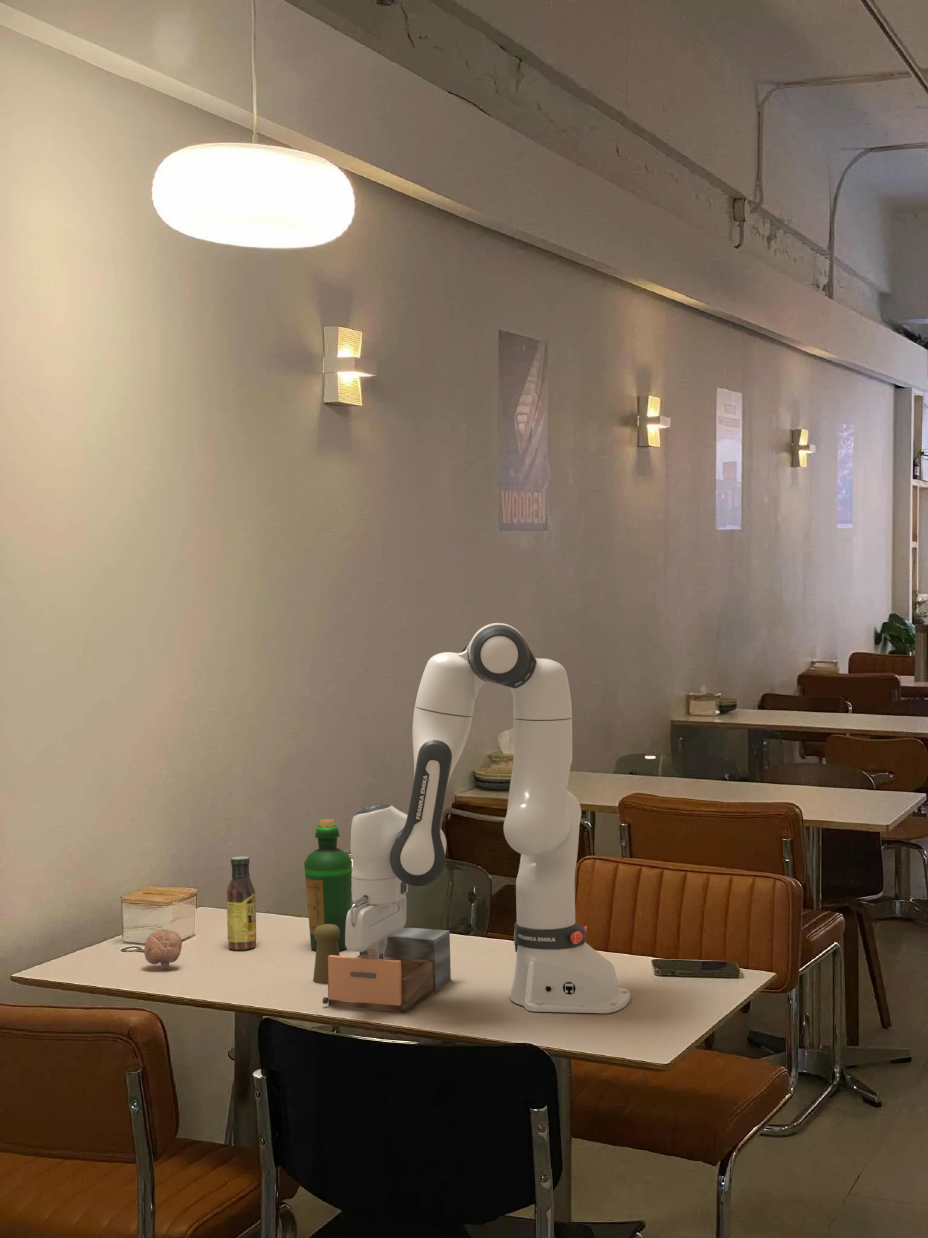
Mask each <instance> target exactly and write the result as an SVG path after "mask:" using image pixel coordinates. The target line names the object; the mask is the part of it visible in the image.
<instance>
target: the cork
mask: <svg viewBox="0 0 928 1238" xmlns="http://www.w3.org/2000/svg"><path fill="white" fill-rule="evenodd" d="M314 937H315V940H316V941H317V948H316V950H315V958H314V969H313V981H312V982H314V983H316V984H321V985H328V956H330V955H335V956H341V955H340V951H339V947H338V939H339V938H340V929H339V928H338V926H336V925H333V924H323V925H319V926H317V927H316V929H315V931H314Z"/></svg>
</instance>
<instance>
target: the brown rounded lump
mask: <svg viewBox="0 0 928 1238" xmlns="http://www.w3.org/2000/svg"><path fill="white" fill-rule="evenodd" d="M182 946H183V942H182V938H181V936H180V934H179V933H178V932H176V931H174V930H171V929H170V930H169V929H165V928H159V929H156V930H154V931H152V932H151V933H149V936H147V938H146V942H145V944H144V947H143V948H144V949H143V953H144V958H145V961H147V962H148V963H149V964H151V965H159V964H160V965H161V967H162V968H163V969H165V970H168V969H169V968H170V964H171V963H174V962H176V961H177V960H178V959H179V957H180V955H181V951H182V948H183V947H182Z"/></svg>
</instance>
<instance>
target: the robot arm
mask: <svg viewBox="0 0 928 1238" xmlns="http://www.w3.org/2000/svg"><path fill="white" fill-rule="evenodd" d="M425 665H426V666H425V668H424V671H423V673H422V677H421V679H420V682H419V686H418V690H417V693H416V699H415V704H414V709H413V717H412V731H411V733H412V735H411V736H412V753H413V767H414V768H413V781H412V787H411V788H412V789H411V794H410V799H409V805H408V811H407V813H405V812H403V811H402V810H401V811H400V810H399V809H398V808H396V807H394V806H393V805H392V804H389V803H377V804H372V805H368V806H366V807H363V808H361V809H359V810H358V811H357V812H356V813H355V815H353V817H352V821H351V828H350V856H351V860H352V874H351V902H352V905H351V909H350V910H349V911H348V913H347V917H346V930H345V945H346V949H347V951H348V952H357V953H358V952H359V953H360V952H363V951H365V950H367V952H368V955H369V958H374V959H384V953H385V949H386V945H387V938H388V937H389V936H391V935H393V934H395V933H396V932H398V931H400V930H401V929H403V928H404V927H406V921H407V908H408V907H407V896H406V894H407V893H408V890H409V886H413V887H422V886H423V887H424V886H427V885H429V884H431V883H433V882H435V881H436V880H437V879H438V878H439V877H440V876H441V874H442V873H443V871H444V868H445V864H446V852H447V846H448V843H447V838H446V834H445V833H444V831H443V829H442V819H443V815H444V814H443V813H444V807H445V801H446V796H447V789H448V786H449V781H450V779H451V777H452V773H453V771H454V769H455V767H456V765H457V763H458V761H459V759H460V758H461V755H462V753H463V750H464V748H465V746H466V743H467V740H468V738H469V734H470V731H471V726H472V721H473V715H474V708H475V702H476V698H477V697H478V696H477V695H478V693H479V691H480V689H481V687H482V686H484V685H485V684H486V683H493V684H496V685H500V686H505V687H507V688H509V690H510V691H511V695H512V701H513V703H512V705H513V707H512V709H513V710H512V711H513V712H512V713H513V715H512V717H513V719H512V720H513V721H512V722H513V723H512V724H513V725H512V726H513V728H512V729H513V758H512V760H513V761H512V770H511V776H510V782H509V791H508V798H507V799H508V800H507V808H506V809H507V810H506V815H505V817H504V818H505V819H504V822H503V835H504V837H505V840H506V842H507V844H508V845H509V846H510V848H511V849H513V850H514V851H515V852H517V853H518V854H520V861H519V867H518V871H517V872H518V873H517V876H516V879H515V880H516V881H515V896H516V897H515V898H516V899H515V902H516V903H515V904H516V922H514V932H513V933H514V934H513V943H514V944H513V945H514V949H515V950H514V951H515V953H516V956H515V957H516V958H515V969H514V974H513V975H514V977H513V981H512V982H513V983H512V987H511V991H510V995H509V999H510V1000H511V1001H512V1002H513V1003H515V1004H517V1005H520V1006H522V1007H523V1008H525V1010H527V1011H529V1012H540V1013H541V1012H545V1013H573V1014H574V1013H578V1014H579V1013H580V1014H582V1013H583V1014H610V1013H615V1012H618V1011H620V1010H622V1009H623V1008H624V1007H626V1006H627V1005H628V1004H629V1002H630V1001H631V993H630V990H628V989H627V988H624V987H620V986H619V982H618V981H619V980H618V975H617V972H616V969H615V967H614V965H613V963H612V962H611V961H610V960H608V959H607V958H606V957H604V956H603V955H602V954H600V953H599V952H598V951H597V950H596V949H594V948H593V947H592V946H591V945H590V944H588V943H587V933H588V930H587V929H588V925H584V926H582V925H580V924H579V922H577V921H576V894H575V893H576V890H575V886H576V885H575V884H576V883H575V881H576V868H577V862H578V861H577V860H578V853H579V851H578V850H579V842H580V841H579V837H580V825H581V819H582V807H581V804H580V802H579V800H578V799H577V797H576V796H575V795H574V794H573V793H572V792H571V791H569V790H568V785H569V779H570V778H569V777H570V771H571V766H572V763H573V708H572V696H571V690H570V689H571V688H570V684H569V678H568V673H567V670H566V668H565V667H564V666H563V665H562V664H561V663H559V662H558V661H555V660H553V659H550V658H539V657H536V656H535V655H534V653H533V652H532V650H531V649H530V646H529V645H528V643H527V642H526V640H525V638H524V636H523V634H522V633H521V632H520V631H519V630H518V629H517V628H516V627H514V626H512V625H510V624H507V623H502V622H495V623H494V622H493V623H489V624H486V625H484V626H483V627H481V628H480V629H478V630H477V631H476V633H475V634H474V635H473V637H472V638H471V639H470V640H469V642H468V643H467V644H466V645H465V647H464V648H463V649H462V650H461V652H451V651H447V652H440V653H436V654H434V655H432V656H431V657H430V658H429V659H428V660H427V663H426V664H425Z"/></svg>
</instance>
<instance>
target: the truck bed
mask: <svg viewBox="0 0 928 1238" xmlns="http://www.w3.org/2000/svg"><path fill="white" fill-rule="evenodd" d="M450 933H451V932H450V930H447V929H446V930H445V929H434V928H432V929H431V928H421V927H420V928H419V927H418V928H417V927H406V926H404V928H403V929H401V930H400V931H398V932H396V933H395V934H393V935H391V936H389V937H388V938H387V945H386V949H385V953H384V959H387V960H400V961H401V981H402V1004H401V1005H400V1006H399V1005H388V1004H377V1003H365V1002H354V1001H343V1000H332V999H329V980H328V984H327V997H326V996H323V998H322V1003H323V1005H327V1004H328V1006H329V1007H330V1006H331V1007H340V1008H341V1007H342V1008H352V1009H364V1010H373V1011H374V1010H375V1011H385V1012H396V1013H397V1012H398V1013H406V1014H407V1013H408V1012H410V1011H411V1010H413V1009H414V1008H415V1007H417V1006H418V1005H419V1004H421V1003H422V1002H424V1001H425V1000H426V999H427V998H429V997H431V996H432V995H433V994H435V993H436V992H437V991H439V990H440V989H442V988H444V986H446V985H447V984H448V983H450V982H451V981H452V979H451V978H452V976H451V975H452V974H451V971H452V970H451V940H450V939H451V936H450V935H451V934H450ZM356 957H361V958H369V955H368V952H367V950H365V951H363V952H359V954H358V955H357V956H356Z"/></svg>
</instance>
